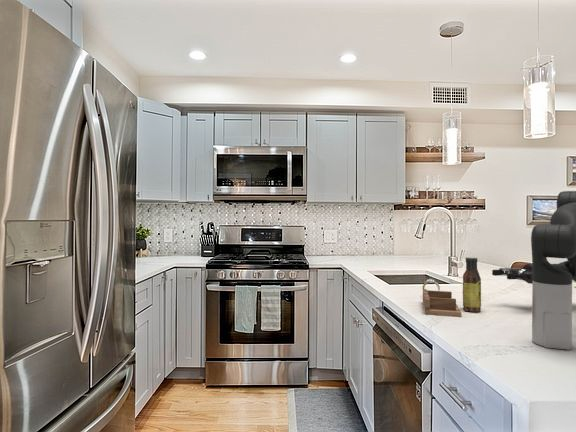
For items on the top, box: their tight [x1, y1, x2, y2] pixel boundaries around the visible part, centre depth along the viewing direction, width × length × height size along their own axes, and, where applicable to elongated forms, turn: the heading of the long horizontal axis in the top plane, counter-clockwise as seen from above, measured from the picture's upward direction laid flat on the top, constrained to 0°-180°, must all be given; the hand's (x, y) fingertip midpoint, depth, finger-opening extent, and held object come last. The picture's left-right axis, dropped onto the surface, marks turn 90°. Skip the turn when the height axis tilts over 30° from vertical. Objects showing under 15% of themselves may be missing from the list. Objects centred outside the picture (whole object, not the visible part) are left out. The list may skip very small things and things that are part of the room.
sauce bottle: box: [462, 256, 482, 313], centre depth 147 cm, size 6×6×20 cm
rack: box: [422, 288, 462, 318], centre depth 150 cm, size 20×12×6 cm, turn 164°
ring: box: [422, 278, 441, 291], centre depth 171 cm, size 7×3×8 cm, turn 58°
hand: (499, 274), depth 149 cm, fingers open, 8 cm apart
